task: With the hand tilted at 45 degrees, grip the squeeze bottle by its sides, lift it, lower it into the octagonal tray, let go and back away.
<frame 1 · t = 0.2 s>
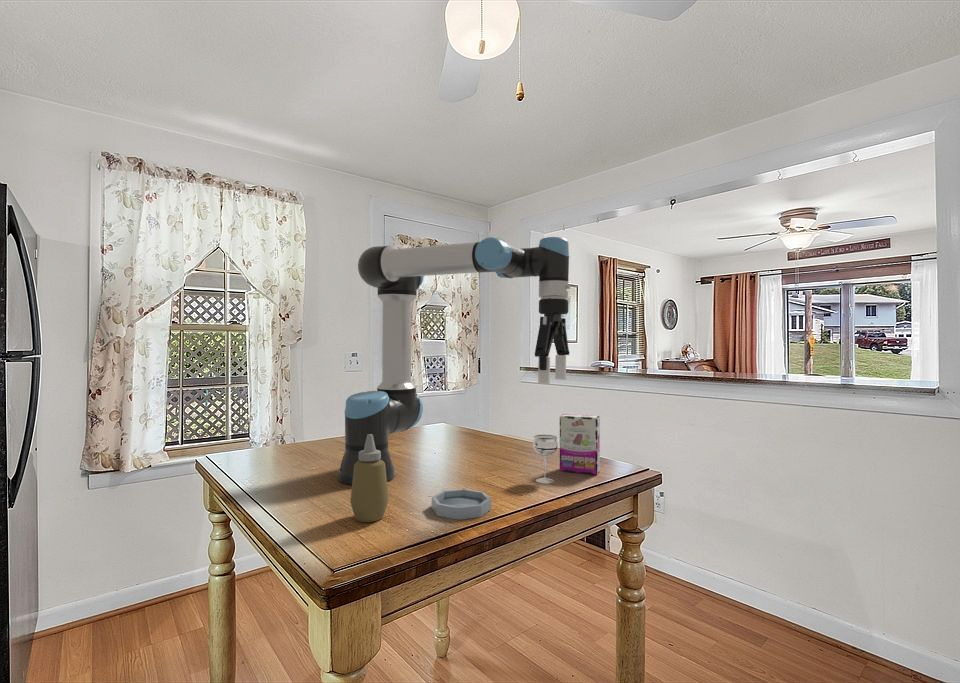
hand: (552, 381, 127), 28 cm above the table, tool pointing down, fingers open, 13 cm apart
octagonal tray: (461, 508, 113), on the table
squeeze bottle: (369, 518, 107), on the table
wineglass: (544, 481, 135), on the table
candy bar box: (579, 471, 145), on the table
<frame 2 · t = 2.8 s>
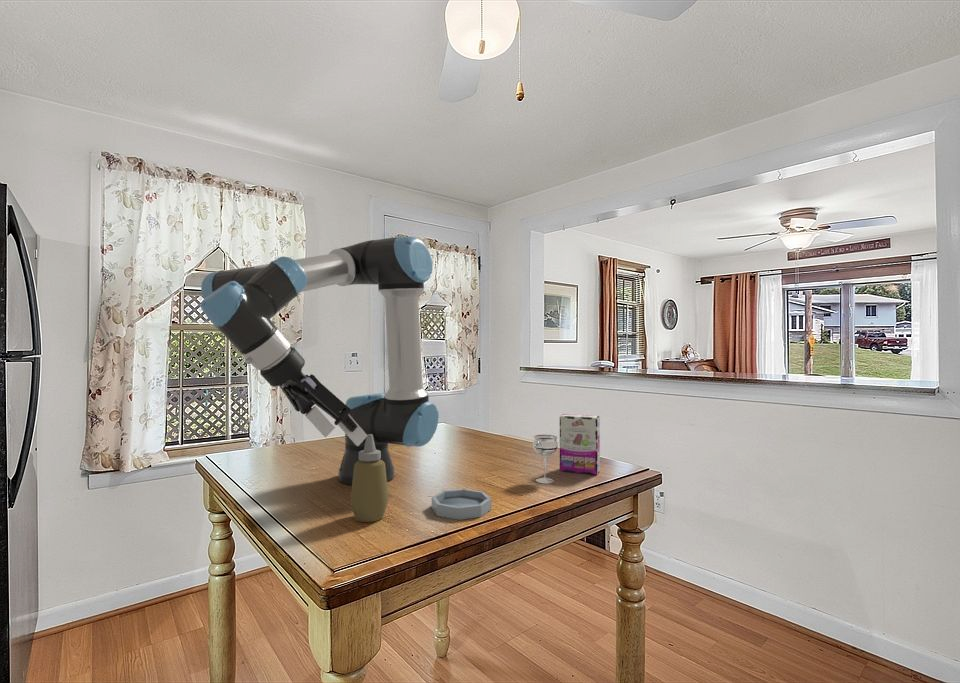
hand: (345, 436, 100), 19 cm above the table, tool tilted 40°, fingers open, 13 cm apart
nothing on the table moved.
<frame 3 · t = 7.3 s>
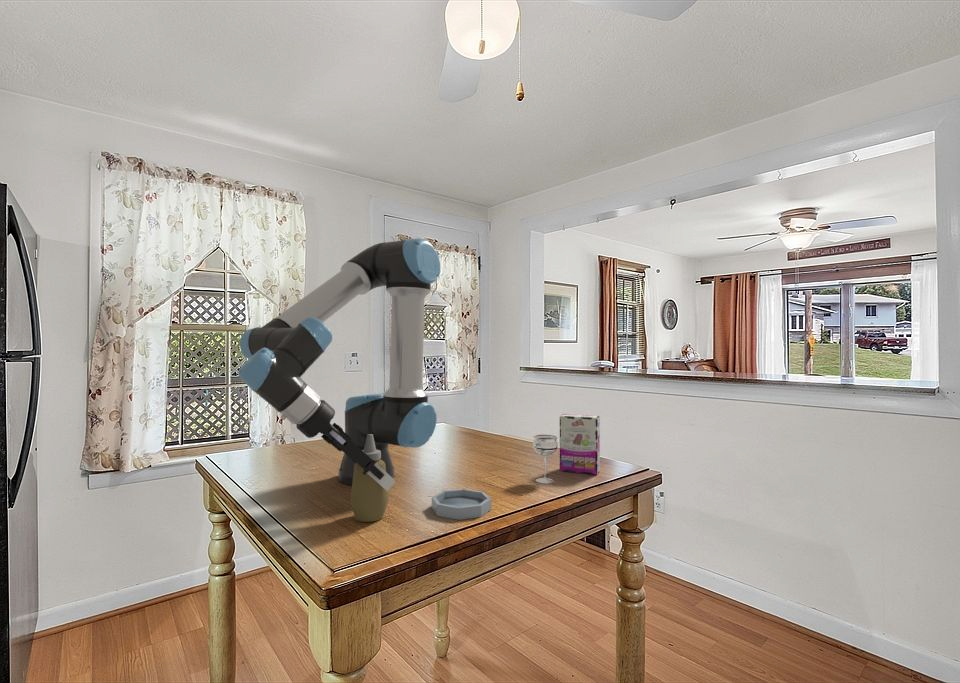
hand: (385, 481, 108), 7 cm above the table, tool tilted 45°, fingers closed on squeeze bottle, 6 cm apart
squeeze bottle: (369, 518, 107), on the table, touching gripper
everything else where it was.
when the fingers open (10 cm above the table, at t = 13.6 s): squeeze bottle drops 1 cm, resting on octagonal tray.
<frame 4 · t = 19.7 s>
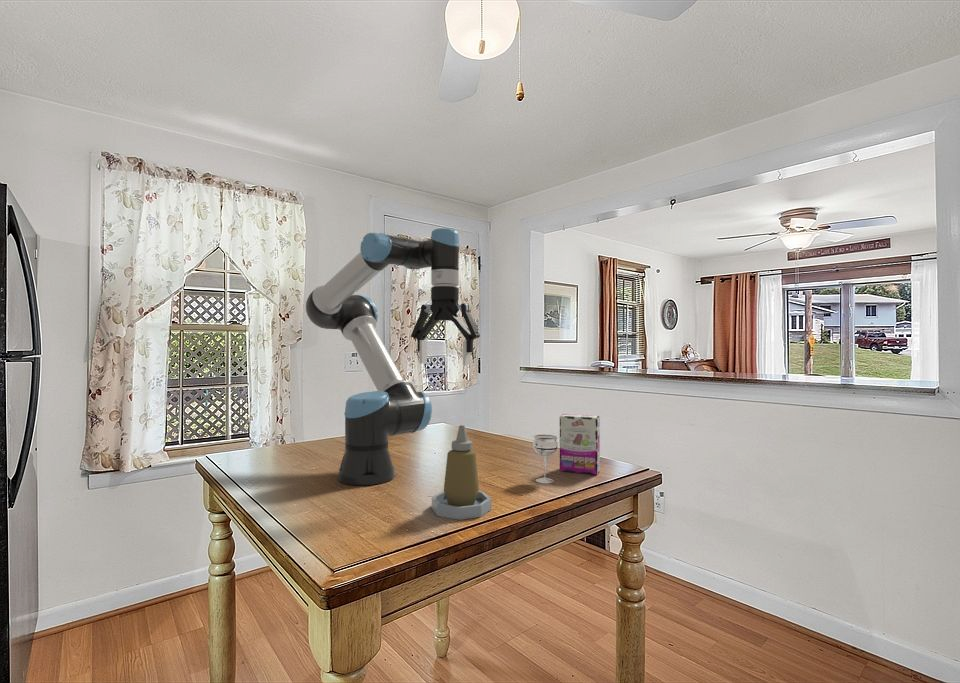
hand: (444, 364, 135), 32 cm above the table, tool pointing down, fingers open, 13 cm apart
squeeze bottle: (461, 505, 113), point 1 cm above the table, touching octagonal tray
everything else where it was.
at the end: squeeze bottle 0.1 cm off-centre on the octagonal tray, point 0.8 cm above the octagonal tray's base; squeeze bottle tilted 0°; the gripper is holding nothing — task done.
